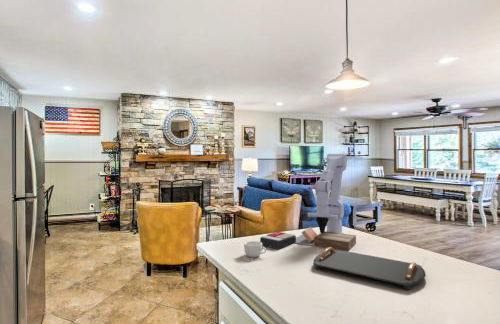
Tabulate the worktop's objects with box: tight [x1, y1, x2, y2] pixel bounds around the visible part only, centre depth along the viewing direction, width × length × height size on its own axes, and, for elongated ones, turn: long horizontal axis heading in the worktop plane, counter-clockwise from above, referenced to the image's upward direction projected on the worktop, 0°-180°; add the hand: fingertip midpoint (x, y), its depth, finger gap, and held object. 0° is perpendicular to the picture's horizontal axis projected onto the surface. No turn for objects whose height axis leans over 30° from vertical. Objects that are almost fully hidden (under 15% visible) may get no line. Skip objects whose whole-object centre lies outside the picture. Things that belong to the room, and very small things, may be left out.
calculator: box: [259, 231, 297, 250], centre depth 156 cm, size 11×4×15 cm
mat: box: [293, 234, 314, 247], centre depth 163 cm, size 16×12×1 cm
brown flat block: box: [313, 230, 357, 252], centre depth 155 cm, size 14×16×4 cm
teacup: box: [243, 240, 267, 258], centre depth 138 cm, size 10×8×5 cm
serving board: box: [312, 247, 426, 291], centre depth 121 cm, size 39×23×6 cm, turn 53°
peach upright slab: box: [301, 226, 318, 243], centre depth 161 cm, size 9×6×2 cm
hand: (322, 232), depth 158 cm, fingers closed
